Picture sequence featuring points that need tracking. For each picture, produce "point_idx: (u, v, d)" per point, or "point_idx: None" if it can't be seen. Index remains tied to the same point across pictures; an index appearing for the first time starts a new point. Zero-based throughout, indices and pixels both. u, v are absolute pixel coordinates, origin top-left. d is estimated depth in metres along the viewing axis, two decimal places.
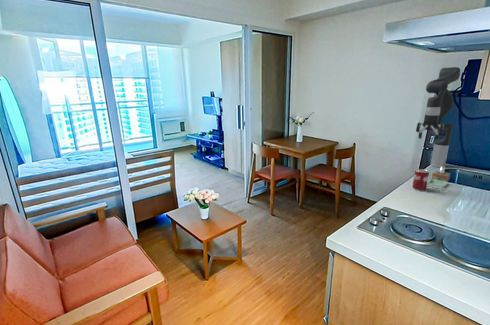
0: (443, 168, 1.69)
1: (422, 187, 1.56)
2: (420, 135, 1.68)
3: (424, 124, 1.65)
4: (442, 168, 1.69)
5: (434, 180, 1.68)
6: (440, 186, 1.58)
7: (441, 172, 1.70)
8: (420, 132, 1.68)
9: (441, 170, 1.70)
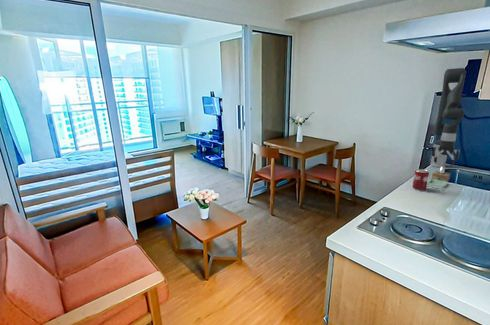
0: (443, 168, 1.69)
1: (422, 187, 1.56)
2: (435, 159, 1.71)
3: (440, 149, 1.68)
4: (442, 168, 1.69)
5: (434, 180, 1.68)
6: (440, 186, 1.58)
7: (441, 172, 1.70)
8: (436, 156, 1.71)
9: (441, 170, 1.70)
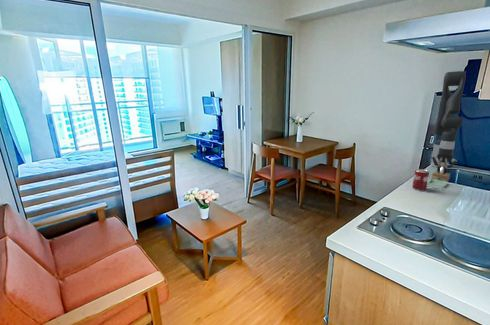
0: (443, 168, 1.69)
1: (422, 187, 1.56)
2: (439, 169, 1.71)
3: (438, 158, 1.70)
4: (442, 168, 1.69)
5: (434, 180, 1.68)
6: (440, 186, 1.58)
7: (441, 172, 1.70)
8: (439, 166, 1.71)
9: (441, 170, 1.70)
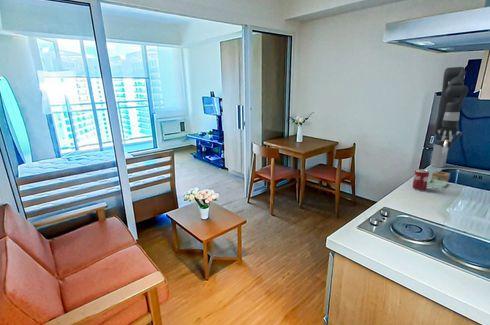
0: (447, 142, 1.59)
1: (422, 187, 1.56)
2: (442, 143, 1.61)
3: (442, 131, 1.60)
4: (446, 142, 1.59)
5: (434, 180, 1.68)
6: (440, 186, 1.58)
7: (445, 146, 1.60)
8: (442, 140, 1.60)
9: (445, 144, 1.60)
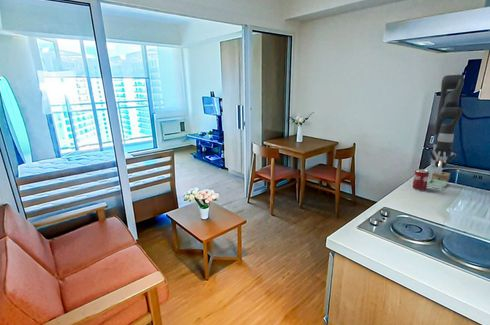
0: (441, 163, 1.58)
1: (422, 187, 1.56)
2: (437, 163, 1.60)
3: (436, 151, 1.59)
4: (440, 163, 1.59)
5: (434, 180, 1.68)
6: (440, 186, 1.58)
7: (439, 167, 1.60)
8: (437, 160, 1.60)
9: (439, 165, 1.59)
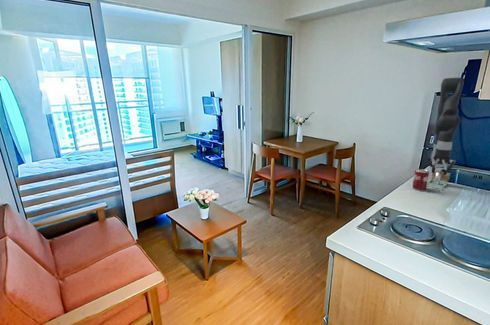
0: (439, 174, 1.61)
1: (422, 187, 1.56)
2: (433, 170, 1.62)
3: (435, 158, 1.61)
4: (438, 174, 1.61)
5: (434, 180, 1.68)
6: (440, 186, 1.58)
7: (437, 178, 1.62)
8: (433, 167, 1.62)
9: (437, 176, 1.61)
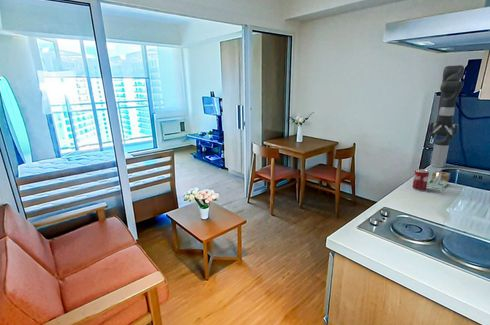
0: (439, 174, 1.61)
1: (422, 187, 1.56)
2: (434, 135, 1.68)
3: (438, 124, 1.65)
4: (438, 174, 1.61)
5: (434, 180, 1.68)
6: (440, 186, 1.58)
7: (437, 178, 1.62)
8: (434, 132, 1.67)
9: (437, 176, 1.61)
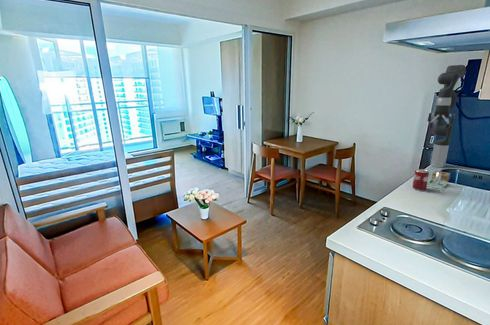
0: (439, 174, 1.61)
1: (422, 187, 1.56)
2: (431, 125, 1.77)
3: (435, 114, 1.74)
4: (438, 174, 1.61)
5: (434, 180, 1.68)
6: (440, 186, 1.58)
7: (437, 178, 1.62)
8: (431, 122, 1.77)
9: (437, 176, 1.61)
